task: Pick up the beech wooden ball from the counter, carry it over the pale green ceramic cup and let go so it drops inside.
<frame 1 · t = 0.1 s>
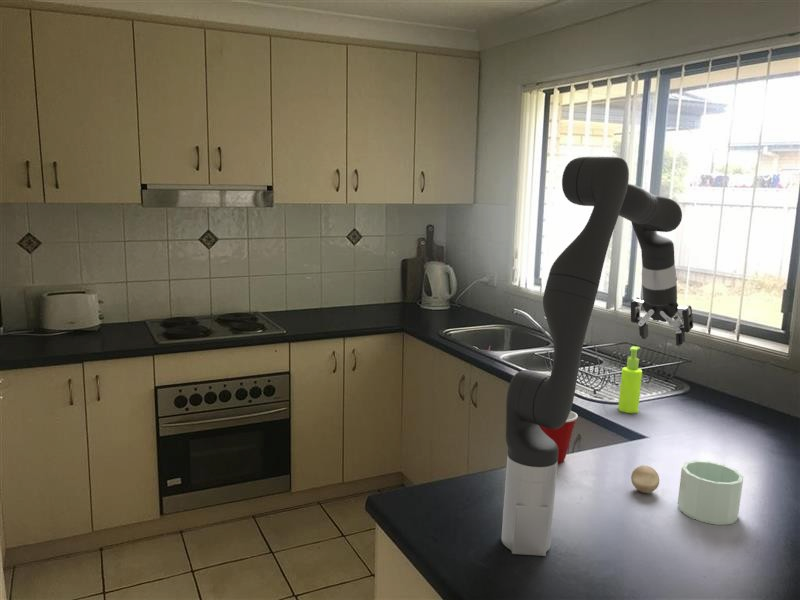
hand: (662, 341, 163), 31 cm above the countertop, tool tilted 20°, fingers open, 8 cm apart
wooden ball: (645, 479, 151), point 3 cm above the countertop
plastic cup: (551, 459, 168), on the countertop
ceramic cup: (707, 511, 143), on the countertop
soap dispenser: (628, 410, 209), on the countertop
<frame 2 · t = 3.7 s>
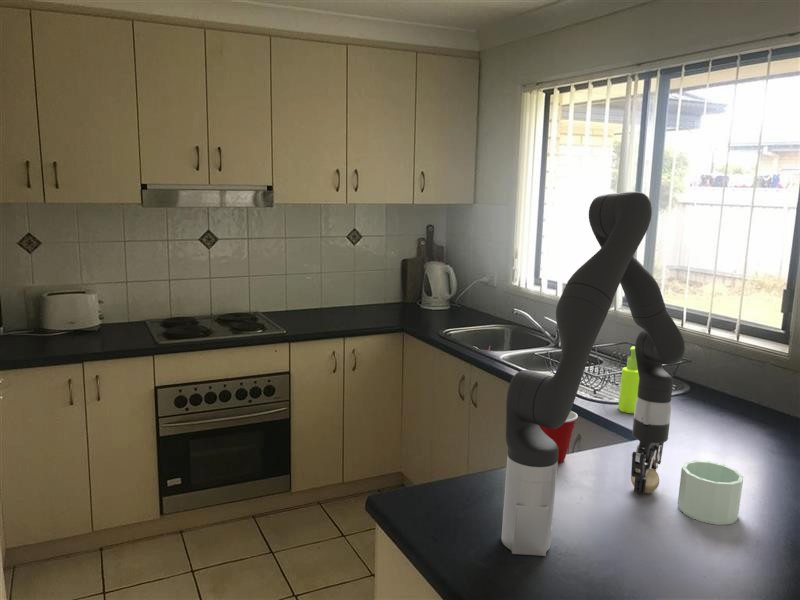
hand: (644, 488, 151), 1 cm above the countertop, tool pointing down, fingers closed on wooden ball, 6 cm apart
wooden ball: (645, 479, 151), point 3 cm above the countertop, touching gripper
everything else where it was.
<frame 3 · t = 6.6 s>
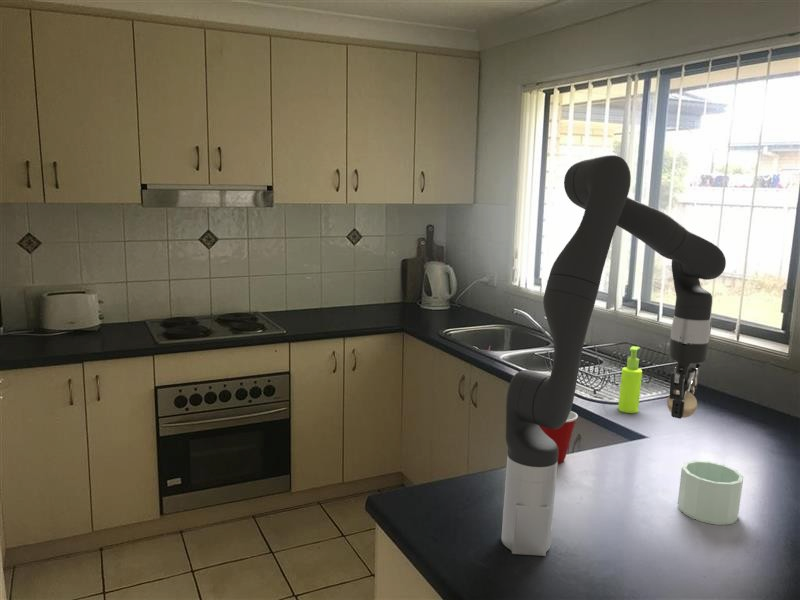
hand: (681, 413, 145), 20 cm above the countertop, tool pointing down, fingers closed on wooden ball, 6 cm apart
wooden ball: (681, 403, 145), point 22 cm above the countertop, touching gripper
everything else where it was.
when the fingers open (13 cm above the countertop, at t = 9.3 s): wooden ball drops 11 cm, resting on ceramic cup.
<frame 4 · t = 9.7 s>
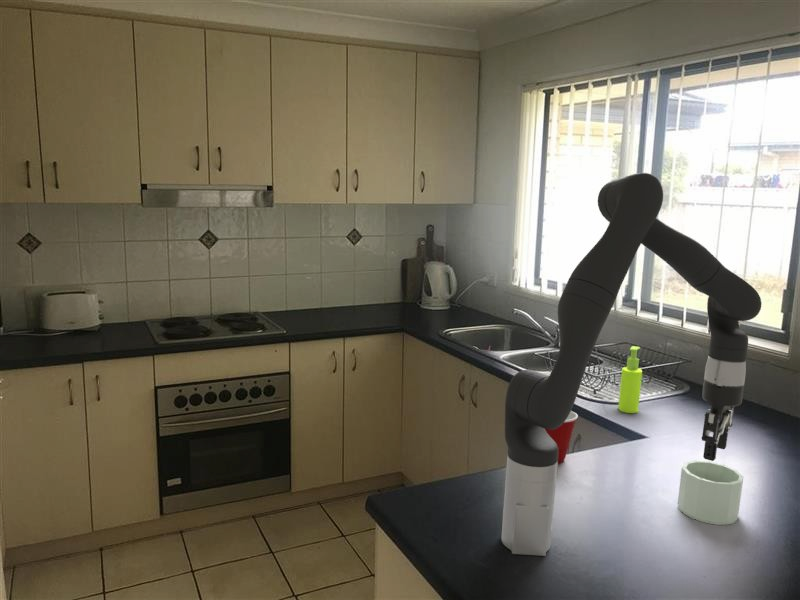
hand: (714, 453, 141), 13 cm above the countertop, tool pointing down, fingers open, 8 cm apart
wooden ball: (709, 495, 143), point 4 cm above the countertop, touching ceramic cup
everything else where it was.
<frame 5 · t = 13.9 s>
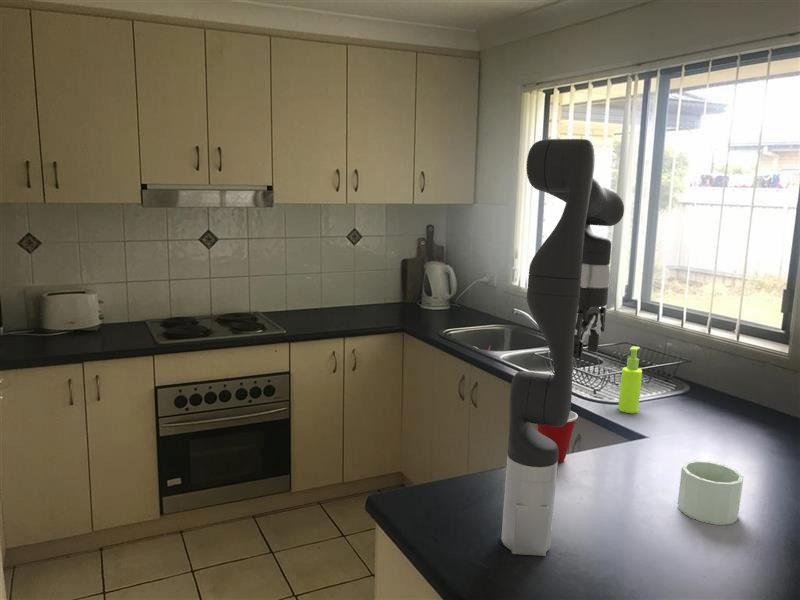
hand: (584, 354, 151), 30 cm above the countertop, tool pointing down, fingers open, 8 cm apart
nothing on the countertop moved.
at the end: wooden ball 0.0 cm off-centre on the ceramic cup, point 3.6 cm above the ceramic cup's base; the gripper is holding nothing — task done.
